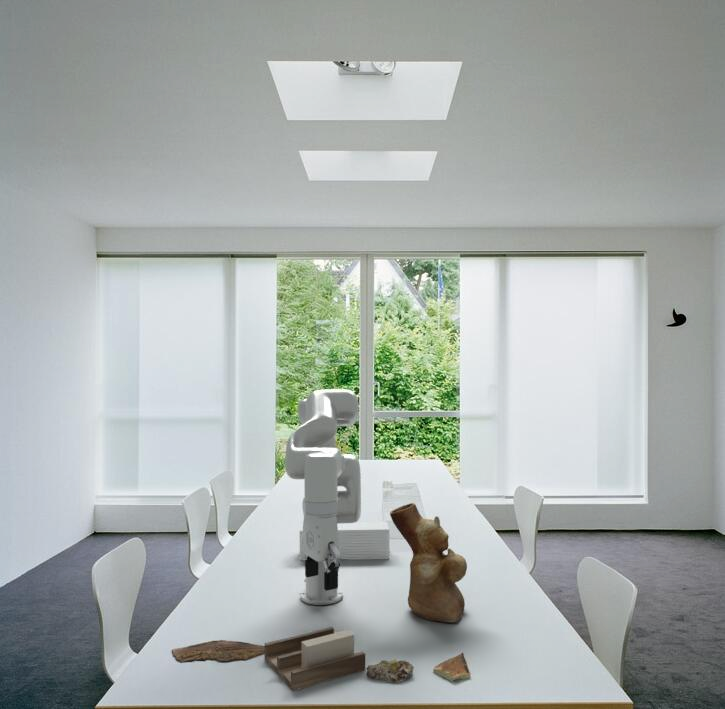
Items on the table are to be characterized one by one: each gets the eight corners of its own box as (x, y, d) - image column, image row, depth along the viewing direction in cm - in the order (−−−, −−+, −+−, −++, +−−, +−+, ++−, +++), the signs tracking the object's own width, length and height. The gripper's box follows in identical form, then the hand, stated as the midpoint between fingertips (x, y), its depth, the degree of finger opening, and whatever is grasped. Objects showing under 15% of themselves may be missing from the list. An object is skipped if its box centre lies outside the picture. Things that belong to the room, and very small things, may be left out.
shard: (462, 658, 150) (462, 651, 150) (488, 670, 144) (488, 662, 144) (431, 673, 143) (431, 665, 143) (457, 686, 137) (457, 678, 137)
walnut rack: (264, 659, 149) (264, 643, 149) (331, 641, 158) (331, 626, 158) (293, 690, 135) (293, 673, 135) (365, 669, 144) (365, 653, 144)
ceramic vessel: (461, 628, 165) (460, 514, 166) (382, 617, 173) (382, 508, 173) (472, 606, 180) (471, 502, 180) (399, 597, 188) (398, 496, 188)
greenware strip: (301, 668, 142) (301, 641, 142) (347, 655, 148) (347, 629, 148) (307, 673, 139) (307, 646, 139) (354, 660, 145) (354, 634, 145)
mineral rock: (410, 654, 147) (414, 660, 139) (411, 674, 145) (416, 682, 138) (364, 657, 146) (366, 664, 138) (365, 678, 145) (367, 686, 137)
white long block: (387, 550, 235) (387, 521, 235) (389, 559, 224) (389, 529, 224) (301, 551, 233) (301, 522, 234) (299, 561, 223) (299, 530, 223)
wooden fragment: (164, 663, 147) (164, 659, 147) (177, 643, 158) (177, 639, 158) (274, 663, 148) (274, 658, 148) (279, 642, 159) (279, 638, 159)
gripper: (290, 501, 149) (290, 574, 149) (323, 517, 134) (323, 598, 134) (318, 498, 153) (319, 568, 153) (353, 513, 138) (354, 591, 138)
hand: (321, 582), depth 143 cm, fingers open, 9 cm apart
